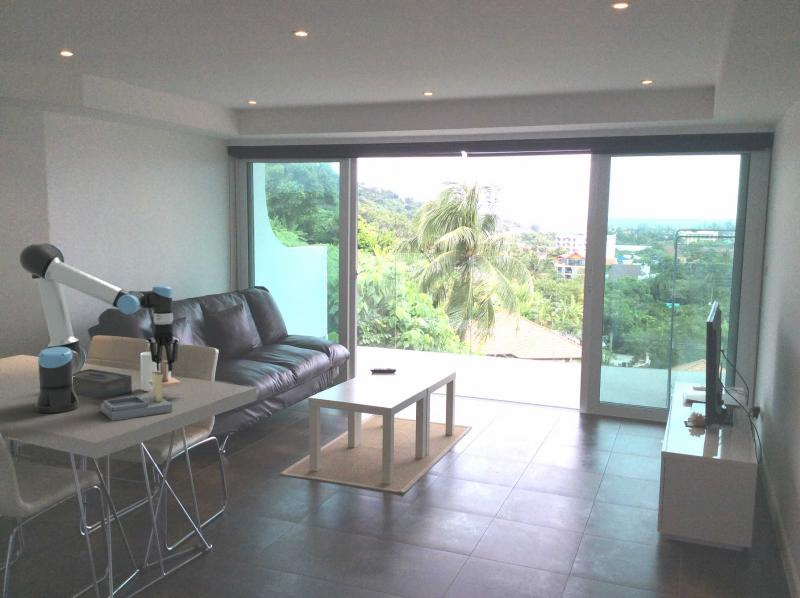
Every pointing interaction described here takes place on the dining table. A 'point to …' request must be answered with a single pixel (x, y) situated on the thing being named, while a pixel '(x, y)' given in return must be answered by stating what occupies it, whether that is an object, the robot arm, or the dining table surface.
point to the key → (156, 386)
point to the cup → (147, 370)
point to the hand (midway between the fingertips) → (165, 378)
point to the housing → (134, 407)
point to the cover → (165, 378)
